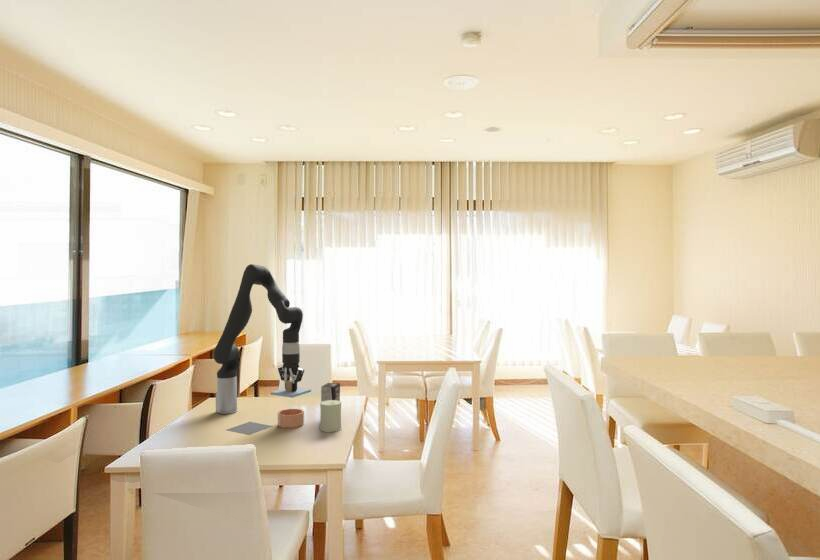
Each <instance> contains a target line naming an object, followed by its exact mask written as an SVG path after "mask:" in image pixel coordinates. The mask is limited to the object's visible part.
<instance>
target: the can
mask: <svg viewBox="0 0 820 560" xmlns="http://www.w3.org/2000/svg"><path fill="white" fill-rule="evenodd" d="M319 404H320V405H319V406H320V408H319V409H320V424H319V425H320V427H319V429H320V431H321V432H325V433H333V432H334V431H335V432H338V431H341V430H342V401H341V400H340V401H338V400H326V401H322V402H321V401H320V403H319ZM340 429H341V430H340Z"/></svg>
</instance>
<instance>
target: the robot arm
mask: <svg viewBox="0 0 820 560" xmlns="http://www.w3.org/2000/svg"><path fill="white" fill-rule="evenodd" d="M241 277H242V278H241V282H240V285H239V289H238V291H237V295H236V298H235V300H234V303H233V305H232V307H231V310H230V313H229V314H228V318H227V322H226V323H225V326H224V329H223V331H222V333H221V336H220V338H219V339H218V342H217V344H216V346H215V348H214V350H213V360H214V361H215V363H217V364H219V365H221V367H220V368H219V369H218V370H217V372H216V392H215V412H216V413H217V414H221V415H229V414H234V413H236V412H237V411H238V372H239V367H240V365H239V364H240V350H239V347H238V345H236V343H235V341H236V340H237V338H238V336H240V334H241V333H242V331H243V330H244V329H245V328H246V326H247V325H248V323H249V320H250V318H251V316H252V314H253V313H252V312H253V305H252V302H251V291H252V289H253V286H254V285H258V286H262V287H263V288H265V289H266V293H267V296H266V297H267V299H268V302H269V303H270V304H271V305H272V307H273V308H274V309H275V312H276V315H277V318H278V320H279V322H281V323H282V324H285V325H287V324H290V326H289V327H287V328H285V329H283V331H282V348H281V349H282V350H281V351H282V354H281V357H282V359H281V362H282V366H280V367H277V370H278V371H277V372H278V375H279V377H280V380H281V381H283V382H284V388H285V390H286V381H288V380H292V391H293V392H294V391H296V390H297V388H298V383H299V382H301V381H302V379H303V375H304V374H305V369H304V368H300V357H301V356H300V352H301V351H300V331H301V326H302V323H303V318H304V317H303V316H304V313H303V310H302V309H301V308H300V307H299V306H298V307H297V306H292V307H291V306H290V304H291V302H290V300H289V299H288V298H287V296H286V295H285V294H284V293H283V292H282V290H281V289H280V288H279V286H278V285H277V282H276V281H275V278H274V277H273V274H272V273H271V270H269V268H268V267H266V266H263V265H259V264H254V263H252V264H248V265H247V266H246V267H245V269H244V271H243V274H242V276H241Z"/></svg>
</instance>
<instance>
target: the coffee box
mask: <svg viewBox="0 0 820 560" xmlns="http://www.w3.org/2000/svg"><path fill="white" fill-rule="evenodd" d="M320 389H321V390H320V395H321V396H320V403H321V402H322V401H326V400H338V401H341V383H340V382H327V383H325V384H323V385H322V386H321V388H320Z"/></svg>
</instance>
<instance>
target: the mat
mask: <svg viewBox="0 0 820 560" xmlns="http://www.w3.org/2000/svg"><path fill="white" fill-rule="evenodd" d="M272 427H273V425H269V424H265V423H264V424H263V423H259V422H253V421H248V422H245V423H242V424H239V425H237V426H233V427H230V428H227V429H226V431H227V432H232V433H237V434H238V433H239V434H243V435H248V436H250V435H253V434H256V433H258V432H260V431H261V432H262V431H263V430H266V429H269V428H272Z"/></svg>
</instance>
